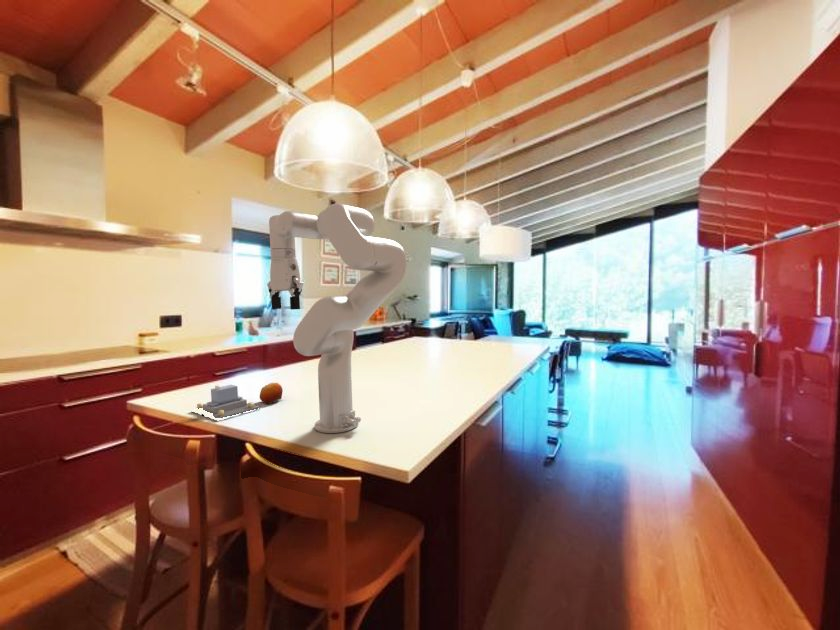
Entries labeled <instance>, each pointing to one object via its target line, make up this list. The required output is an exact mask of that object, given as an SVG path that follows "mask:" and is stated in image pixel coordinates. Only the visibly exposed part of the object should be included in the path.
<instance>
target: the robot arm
mask: <svg viewBox="0 0 840 630" xmlns="http://www.w3.org/2000/svg"><path fill="white" fill-rule="evenodd" d="M375 225H376V223H375V219H374V217H373V215H372V214H371V213H370V212H369V211H368V210H366V209H364V208H361V207H357V206H354V205H353V206H351V205H348V204H342V203H332V204H330V205H328V206H327V207H326V208H325V209H323V210H321V211H320V212H319V214H318V215H316V214H310V213H303V212H298V211H293V210H287V211H286V210H285V211H283V212H281V213H280V214H279V215H278V214H277V215H276V214H275V215H272V216H270V217H269V219H268V227H269V228H268V229H269V244H270V245H269V246H270V248H269V249H270V271H269V272H270V273H269V275H270V277H269V282H267V284H266V286H267V289H268V292H269V296H270V298H271V299H270V301H271V309H272V310H280V309H282V297H281V296H280V295H281V293H282V292H288V293H289V295H290V296H289V308H290V310H292V311H293V310H300V309H301V304H300V303H301V302H300V301H301V300H300V297H301V296H302V295H301V293H302V292H303V287H304V281H302V280H301V273H300V267H299V262H298V259H297V258H296V257H297V256H296V238H301V239H310V240H328V241H329V242H330V244H331V245H332V246H333V248H334V249H335V251H336V252H337V254H338V256H339V257H340V258H341V260H342V261H343V262H344V264H345V265H346V266H348V267H349V268H351V269H352V270H355V271H356V270H357V271H364V272H365V271H366V272H367V271H369V272H370V271H371V272H370V273H369V274H367V275H365V276H364V277H362V278H361V279H360V280H358V282H357V283H356V284H355V285H354V287H353V288H352V289H351V290H350V291H349V292H348V293H346V294H343V295H331V296H329V295H328V296H326V297H322V298H320V299H319V300H317V301H316V302H315V303H314V304H313V305H312V306H311V308H310V309H309V310H308V311H307V312H306V314H305V315H304V316H303V318H302V319H301V321H300V322H299V324H297V326H296V328H295V330H294V332H293V339H292V342H293V346H294V349H295V350H296V352H297V353H298V354H300V355H302V356H303V357H314V356H320V358H319V361H318V367H317V380H318V404H319V419H318V420H317V421H315V422H314V429H315V430H316V431H317V432H320V433H323V434H338V433H344V432H349V431H351V430H354V429H355V428H357V427H358V425H359V423H360V422H361V420H362V418H361V417H358V416H356V411H355V410H353V408H354V407H353V385H352V384H353V382H352V352H353V345H354V339H355V338H354V336H355V335H354V330H357V329H359V328H361V327H362V326H363V325H364V324H366V323H367V321H368V320H369V319H370V318H371V317H372V316H373V315H374V314H375V312H376V311H377V310H379V308H380V307H381V305H383V303H384V302H385V301H386V300H387V299H388V298H389V297H390V296H391V295H392V294H393V293H394V292H395V291H396V290H397V288H398V287H399V286H400V284H401V283H402V281H403V279H404V277H405V274H406V270H407V262H408V261H407V255H406V252H405V249H404V248H403V246H402V245H401V244H400V243H398V242H396V241H395V240H392V239H390V238H389V239H388V238H384V237H375V236H371V235H372V234H373V232H374V230H375V227H376V226H375Z"/></svg>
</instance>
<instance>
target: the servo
mask: <svg viewBox="0 0 840 630" xmlns="http://www.w3.org/2000/svg"><path fill="white" fill-rule="evenodd" d="M238 390H239V389H238V385H234V384H229V385H223V386H222V385H220V384H219V385H218V384H217V385H215V386H214V388H210V398H211V401H207V402H206V403H207V405H211V406H216V407H217V406H221V405H225V404H228V403H232V402H236V401H238V400H240V399H243V397H242V396H239V393H238V392H239V391H238Z"/></svg>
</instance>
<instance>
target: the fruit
mask: <svg viewBox="0 0 840 630" xmlns="http://www.w3.org/2000/svg"><path fill="white" fill-rule="evenodd" d="M283 392H284V391H283V387H282V385H281V384H280V383H278V382H270V383H268V384H267V385H264V386H263V387H262V388H261V389H260V392H259V399H260V401H262V402H263V403H264V402H265V403H264V404H267V403H269V404H272V402H274V403H278V402H279V401H280V400H281V399H282V397H283Z"/></svg>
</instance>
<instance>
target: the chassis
mask: <svg viewBox="0 0 840 630" xmlns="http://www.w3.org/2000/svg"><path fill="white" fill-rule="evenodd" d="M247 401H248V400H247V399H246V398H242V399H240V400H238V401H236V402H232V403H228V404H225V405H221V406H217V407H216V406H211V405H207V402H206V403H202V402H201V403H197V405H196V408H198V409H199V408H203V410H205V411H207V412H210V413H213V416H214V417H215V418H223V417H227V416H232V415H236V414H239V413H243V412H246V411H250V410H254V409H258V408H259V409H260V406H257V405H254V402H253V401H252V402H247Z"/></svg>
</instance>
